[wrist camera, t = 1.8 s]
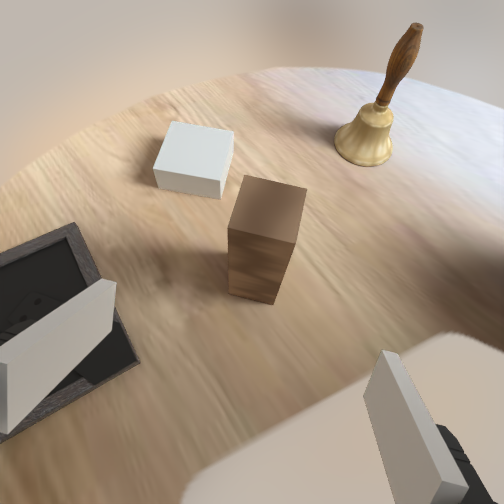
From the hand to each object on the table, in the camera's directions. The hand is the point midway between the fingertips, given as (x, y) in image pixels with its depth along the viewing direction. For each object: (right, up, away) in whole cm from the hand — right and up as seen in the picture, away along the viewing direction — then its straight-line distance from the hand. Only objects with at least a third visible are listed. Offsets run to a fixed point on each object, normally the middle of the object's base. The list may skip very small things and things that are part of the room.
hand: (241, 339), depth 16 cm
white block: (-7, +15, +28) cm, 32 cm away
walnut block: (+1, +1, +21) cm, 21 cm away
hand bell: (+16, +19, +32) cm, 41 cm away
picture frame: (-21, -3, +19) cm, 28 cm away
